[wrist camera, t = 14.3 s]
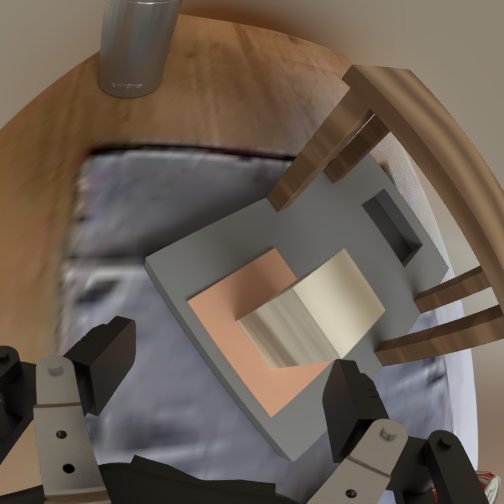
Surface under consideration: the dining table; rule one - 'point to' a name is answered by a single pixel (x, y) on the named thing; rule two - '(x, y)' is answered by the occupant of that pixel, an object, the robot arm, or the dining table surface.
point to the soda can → (485, 485)
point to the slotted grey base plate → (284, 273)
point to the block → (314, 316)
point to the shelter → (442, 179)
